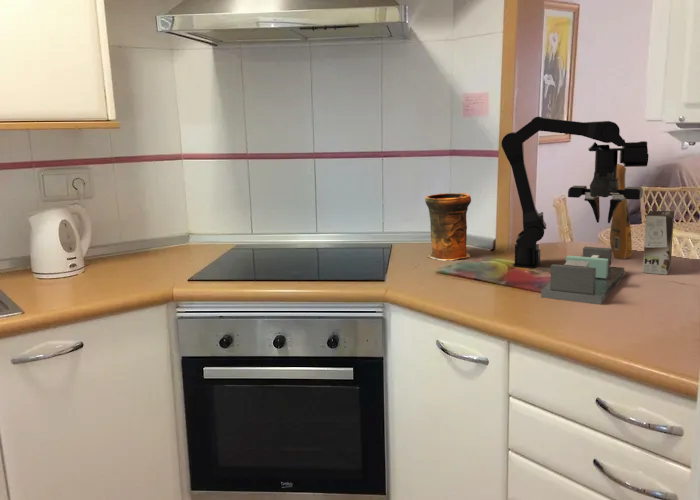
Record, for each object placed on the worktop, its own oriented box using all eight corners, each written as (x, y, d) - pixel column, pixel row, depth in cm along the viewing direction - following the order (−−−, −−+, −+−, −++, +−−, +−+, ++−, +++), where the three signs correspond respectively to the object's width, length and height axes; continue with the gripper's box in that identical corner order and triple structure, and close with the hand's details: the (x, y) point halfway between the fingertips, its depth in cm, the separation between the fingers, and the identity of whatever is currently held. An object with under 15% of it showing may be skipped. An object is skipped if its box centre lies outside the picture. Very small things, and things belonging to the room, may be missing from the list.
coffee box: (668, 275, 163) (672, 216, 160) (641, 273, 167) (645, 215, 163) (671, 267, 171) (675, 210, 167) (646, 265, 174) (649, 209, 171)
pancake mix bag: (609, 260, 182) (613, 166, 176) (604, 246, 200) (608, 160, 194) (633, 260, 180) (639, 165, 174) (626, 247, 198) (631, 160, 191)
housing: (562, 288, 150) (563, 264, 148) (568, 283, 154) (569, 260, 152) (584, 290, 147) (585, 266, 146) (589, 285, 151) (589, 261, 150)
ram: (565, 274, 161) (566, 257, 160) (578, 262, 172) (579, 246, 171) (605, 278, 155) (606, 260, 154) (616, 265, 167) (617, 248, 166)
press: (541, 297, 150) (541, 265, 148) (571, 269, 174) (571, 242, 172) (601, 304, 142) (602, 271, 141) (624, 274, 166) (625, 246, 164)
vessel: (445, 263, 187) (444, 199, 183) (418, 256, 199) (416, 196, 195) (481, 256, 194) (480, 194, 190) (452, 250, 206) (451, 191, 202)
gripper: (563, 169, 167) (561, 225, 170) (637, 170, 157) (634, 230, 160) (573, 166, 176) (572, 219, 179) (644, 166, 166) (641, 222, 169)
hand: (603, 222), depth 172 cm, fingers open, 3 cm apart
